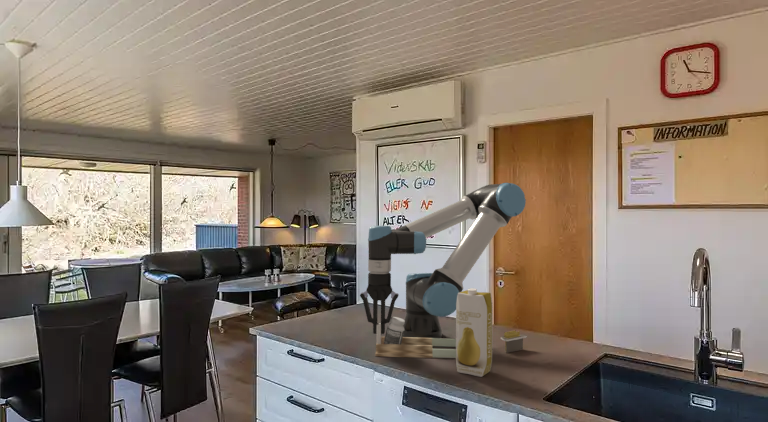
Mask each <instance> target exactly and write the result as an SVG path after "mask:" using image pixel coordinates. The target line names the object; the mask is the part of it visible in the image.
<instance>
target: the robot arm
mask: <svg viewBox="0 0 768 422" xmlns="http://www.w3.org/2000/svg"><path fill="white" fill-rule="evenodd" d="M525 196H526V195H525V193H524V191H523V189H522V188H521V187H520V186H519V185H517V184H515V183H511V182H503V183H495V184H494V183H493V184H486V185H484V186H482V187H480V188H478V189H476V190H474V191H471V192H470V193H468V194H466V195H463V196H462V197H461V199H460V200H459V201H456V202H454V203H452V204H449V205H447V206H445V207H443V208H440V209H438V210H435V211H433V212H431V213H429V214H426V215H424V216H423V217H420V218H417V219H415V220H414V221H411V222H409V223H407V224H404V225H402V226H399V227H397V228H395V229H393V228H392V227H391V226H390V225H371V226H370V227H369V229H368V239H367V241H368V243H367V244H368V259H367V260H368V261H367V263H368V264H367V265H368V267H367V270H368V274H367V287H366V290H364V291H362V292H361V293H360V294H359V297H360V298H361V300H362V303H363V306H364V311H365V316H366V319H367V322H368V323H371V324H372V334H374V335H376V337H375V338H376V344H381V337H383V335H384V334H386V324H390V323H391V321H390V320H391V317H393V316H392V315H393V311H394V308H395V303H396V300H398V297H399V296H400V295H399V293H397V292H395V291H394V290H393V288H392V283H391V282H392V281H391V279H392V274H391V271H392V255H417V254H419V255H420V254H423V253H424V252H425V251H426V249H427V238H430V237H431V236H434V235H436V234H438V233H440V232H442V231H445V230H447V229H449V228H452V227H453V226H456V225H458V224H460V223H462V222H464V221H467V220H469V219H470V220H473V222H472V224H471V225H470V227H469V228H468V230H467V231H466V233H465V234H464V235H463V237H462V238H461V240H460V241H459V242H458V244H457V245H456V247H455V248H454V249H453V251H452V253H451V254H450V256H449V257H448V258H447V260H446V261H445V263H444V264H443V265H442V267H440V268H436V269H435V270H434V271H433V272H428V273H427V272H425V273H423V272H422V273H418V272H417V273H408V274H407V275H406V277H405V279H406V281H405V316H404V318H403V320H405V323H404V325H403V327H404V334H403V337H417V338H442V337H443V328H442V326H441V322H440V319H439V317H441V318H442V317H448V316H450V315H452V314H453V313H454V312H456V302H457V295H458V293H460V292H462V291H464V283H463V282H464V280H465V279H466V277H468V275H469V273H470V272H471V270H472V269H473V268H474V266H475V265H476V263H477V262H478V260H479V259H480V257H481V256H482V254H483V252H484V251H485V250H486V249H487V247H488V246H489V244H490V242H491V241H492V240H493V238H494V236H495V235H496V234H497V232H498V230H499V229H500V228H503V227H506V226H507V225H508V224H509V223H510V221H511V219H512V218H513V217H516V216H519V215H520V214H521V213H523V211H524V209H525V208H526V201H527V199H526V197H525ZM368 296H369V297H370V298H371V299H372V306H373V309H372V311H371V308H370V304H369V299H368ZM389 297H390V299H391V301H390V304H389V308H388V313H387V317H386V300H387V299H388V298H389ZM379 301H380V322H378V317H379V316H378V306H379V304H378V302H379ZM372 314H373V315H372ZM376 344H375V345H376Z"/></svg>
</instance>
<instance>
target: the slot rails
mask: <svg viewBox="0 0 768 422" xmlns="http://www.w3.org/2000/svg"><path fill="white" fill-rule="evenodd" d="M384 339H385V336H382V337H381V344H375V354H374V355H375V357H388V358H420V359H421V358H422V359H423V358H424V359H425V358H426V359H433V358H434V357H433V354H432V353H433V346H432V338H417V337H403V338H402V343H401V344H384Z"/></svg>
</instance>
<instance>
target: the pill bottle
mask: <svg viewBox="0 0 768 422" xmlns="http://www.w3.org/2000/svg"><path fill="white" fill-rule="evenodd" d="M404 323H405V320H404V318H401V317H398V316H391V319H390V322H389V323H388V325H387V329H386V330H385V335H384V337H385V339H384V344H401V343H402V338H403V334H404V327H403V325H404Z"/></svg>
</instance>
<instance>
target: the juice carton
mask: <svg viewBox="0 0 768 422" xmlns="http://www.w3.org/2000/svg"><path fill="white" fill-rule="evenodd" d="M477 290H478V289H477V288H474V287H472V288H468V289H466V290H462V292H460V293H458V295H457V302H456V310H455V339H456V347H455V349H456V358H455V362H456V371H457V372H458V373H460V374H464V375H465V374H466V375H470V376H474V377H479V378H482V377H485V376H486V375H487V374H488V373H489V372H490V371H491V369H492V364H493V299H492V298H493V297H492V293H491V292H489V291H488V292H482V291H481V292H479V291H477Z"/></svg>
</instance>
